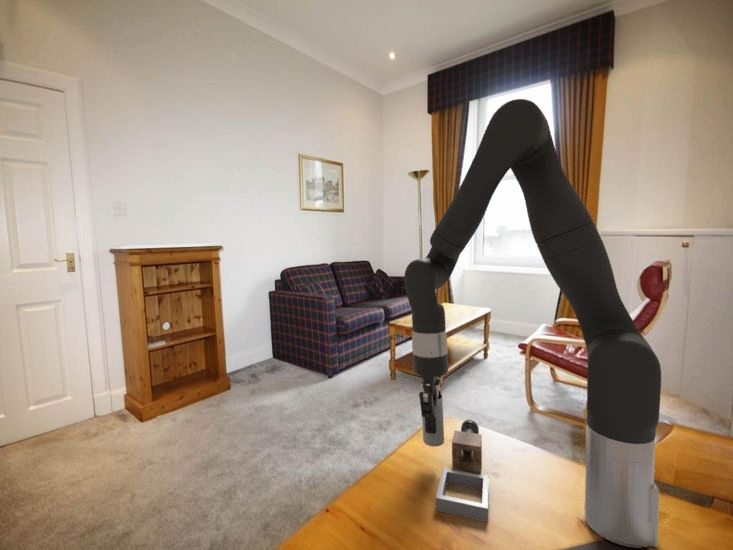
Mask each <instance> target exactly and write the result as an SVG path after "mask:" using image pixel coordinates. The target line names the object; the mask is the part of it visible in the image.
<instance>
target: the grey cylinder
mask: <svg viewBox="0 0 733 550" xmlns="http://www.w3.org/2000/svg"><path fill="white" fill-rule="evenodd" d="M433 401H435V399H433ZM443 406H444V404H443V395H442V393H441V394H439V400H438V405H437V406H436V433H435V434H431V433H426V431H425V417H422V416H421V418H422V419H421V421H422V440H423V443H424V444H425V445H426V446H429V447H433V448H434V447H441V446H442V445H444V443H445V432H444V431H445V430H444V429H445V428H444V426H445V425H444V407H443ZM427 410H429V411H431V410H430V409H427Z"/></svg>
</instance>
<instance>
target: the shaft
mask: <svg viewBox="0 0 733 550" xmlns="http://www.w3.org/2000/svg"><path fill="white" fill-rule="evenodd" d="M460 431H462V432H469V433H476V434H480V433H479V431H480V428H479V425H478V423H477V422H476V421H474V420H471V419H466V420H464V421H463V422H462V423H461V428H460ZM462 450H463V449H462ZM463 452H464V453H465V454H471V452H472V451H469V450H463Z"/></svg>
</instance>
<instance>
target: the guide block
mask: <svg viewBox="0 0 733 550" xmlns="http://www.w3.org/2000/svg"><path fill="white" fill-rule="evenodd" d="M482 435H483V434H482V433H478V434H476V433H469V432H462V431H461V430H454V432H453V437H452V440H451V441H452V442H451V459H452V460H451V462H452V463H451V464H452V466H451V467H452V470H457V471H463V472H468V473H474V474H479V475H482V467H483V466H482V465H483V464H482V463H483V458H482V457H483V456H482V455H483V451H482V449H483V445H482ZM462 449H463V450H469V451H472V452H471V454H465V453H464V452H463V450H462Z"/></svg>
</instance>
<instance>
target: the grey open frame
mask: <svg viewBox="0 0 733 550" xmlns="http://www.w3.org/2000/svg"><path fill="white" fill-rule="evenodd" d="M489 482H490V476H489V475H483V474H481V475H479V474H474V473H468V472H463V471H457V470H452V469H450V468H446V467H442V469H441V474H440V479H439V482H438V486H437V490H436V495H435V510H436V511H437V512H441V513H445V514H450V515H455V516H458V517H459V516H460V517H464V518H468V519H472V520H473V519H474V520H476V521H477V520H478V521H481V522H486V523H488V522H489V496H490V495H489V494H490V483H489ZM448 484H450V485H455V486H458V487H459V486H460V487H464V488H469V489H475V490H479V491H482V496H481V497H482V498H481V502H478V501H477V502H476V501H472V500H468V499H463V498H457V497H454V496H450V495H449V496H448V495H446V493H447V486H448Z"/></svg>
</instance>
